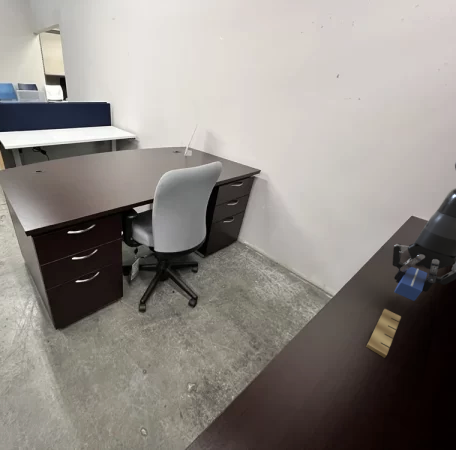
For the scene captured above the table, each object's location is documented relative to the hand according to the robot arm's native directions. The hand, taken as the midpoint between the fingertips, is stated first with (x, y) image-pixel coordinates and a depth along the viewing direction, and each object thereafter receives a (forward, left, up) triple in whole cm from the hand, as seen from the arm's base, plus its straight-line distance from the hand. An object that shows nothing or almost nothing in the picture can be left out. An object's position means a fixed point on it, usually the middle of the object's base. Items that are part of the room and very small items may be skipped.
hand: (408, 285), depth 66 cm
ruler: (0, +14, -8) cm, 16 cm away
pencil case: (0, 0, -1) cm, 1 cm away
